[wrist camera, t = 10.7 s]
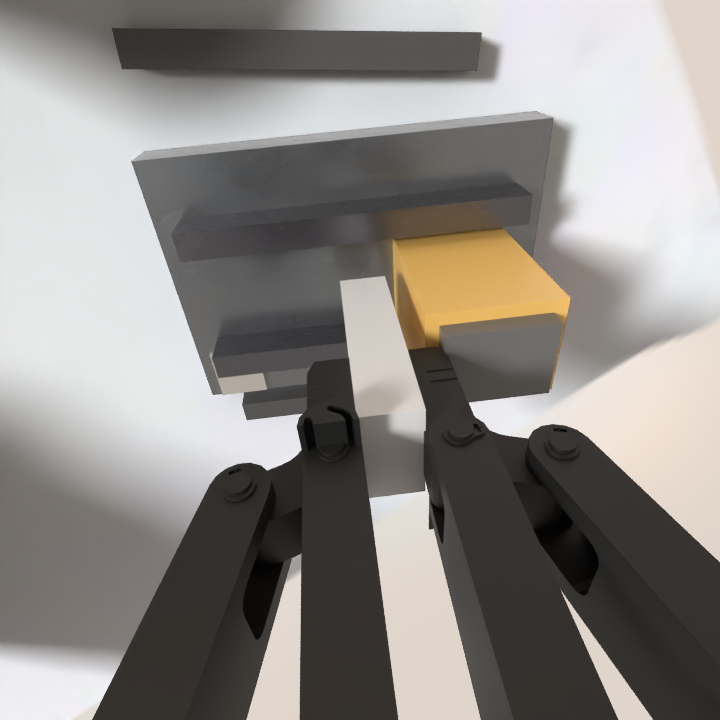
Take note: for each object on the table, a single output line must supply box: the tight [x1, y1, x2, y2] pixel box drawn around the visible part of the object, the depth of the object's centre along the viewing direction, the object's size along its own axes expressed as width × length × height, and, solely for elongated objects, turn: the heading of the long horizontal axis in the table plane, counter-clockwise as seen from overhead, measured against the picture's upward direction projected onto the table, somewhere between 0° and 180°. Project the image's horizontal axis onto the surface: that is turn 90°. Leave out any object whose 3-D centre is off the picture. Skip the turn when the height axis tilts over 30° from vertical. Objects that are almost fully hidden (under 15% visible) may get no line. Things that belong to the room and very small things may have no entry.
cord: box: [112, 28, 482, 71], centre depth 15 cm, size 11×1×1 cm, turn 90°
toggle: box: [392, 227, 571, 402], centre depth 16 cm, size 4×3×7 cm
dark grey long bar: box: [242, 384, 307, 420], centre depth 23 cm, size 12×1×1 cm, turn 95°
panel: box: [131, 111, 553, 395], centre depth 18 cm, size 14×10×3 cm
